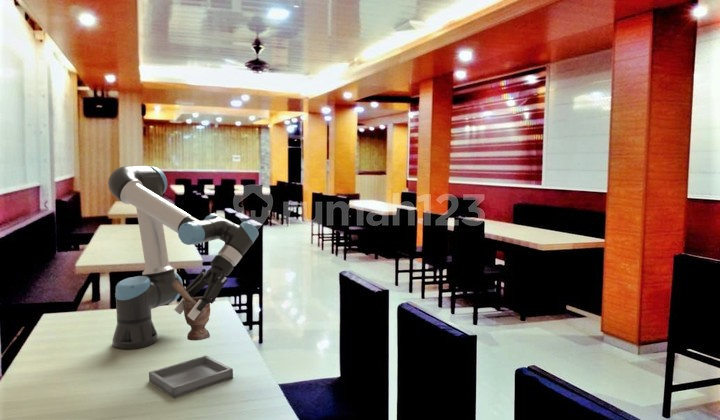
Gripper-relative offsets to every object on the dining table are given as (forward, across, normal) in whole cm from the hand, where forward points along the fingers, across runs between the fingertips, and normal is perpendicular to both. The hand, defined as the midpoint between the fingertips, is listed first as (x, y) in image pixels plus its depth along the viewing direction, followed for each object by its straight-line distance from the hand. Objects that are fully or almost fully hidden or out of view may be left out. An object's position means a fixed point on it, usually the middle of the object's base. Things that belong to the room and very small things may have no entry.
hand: (183, 315), depth 174 cm
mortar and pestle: (+4, 0, -9) cm, 9 cm away
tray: (+15, -16, -7) cm, 23 cm away
